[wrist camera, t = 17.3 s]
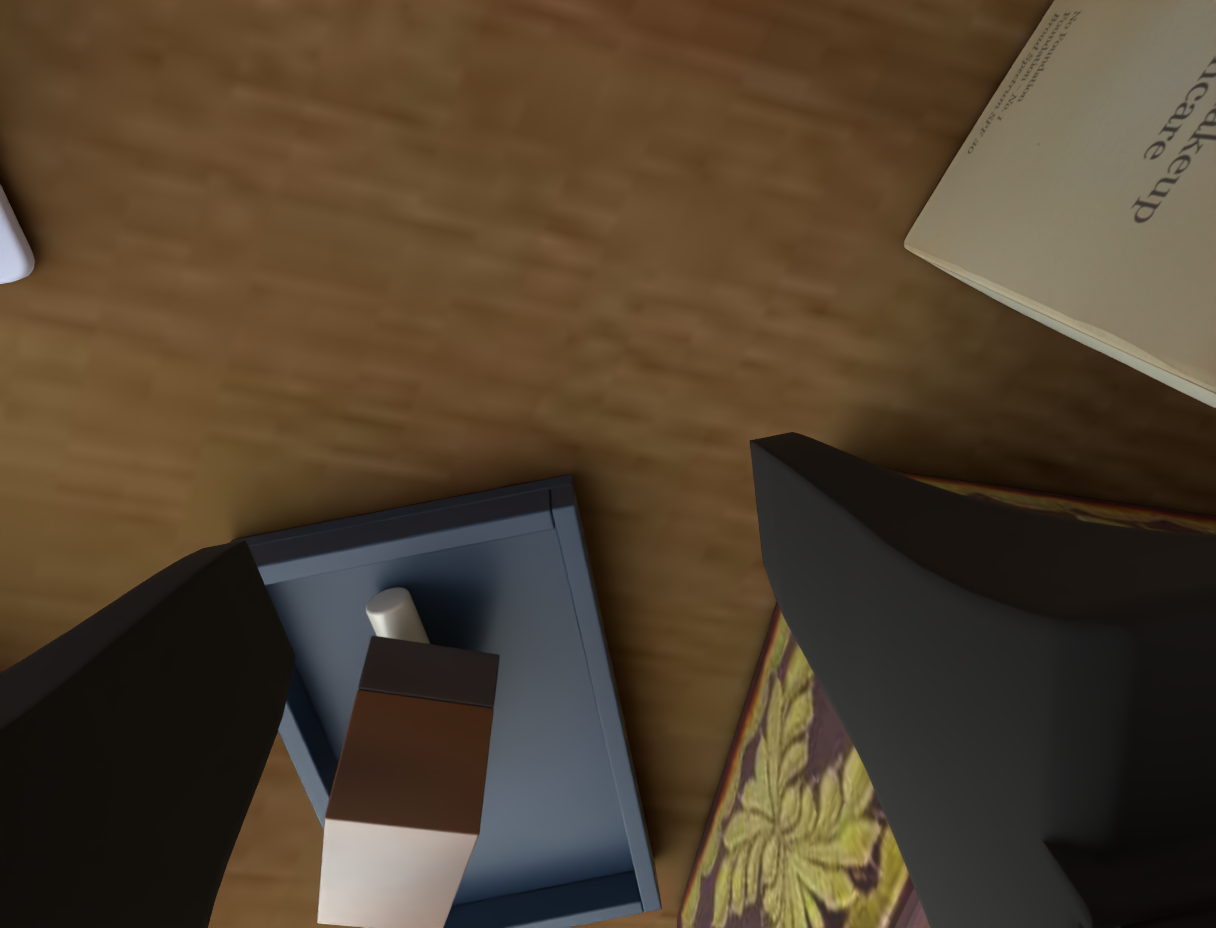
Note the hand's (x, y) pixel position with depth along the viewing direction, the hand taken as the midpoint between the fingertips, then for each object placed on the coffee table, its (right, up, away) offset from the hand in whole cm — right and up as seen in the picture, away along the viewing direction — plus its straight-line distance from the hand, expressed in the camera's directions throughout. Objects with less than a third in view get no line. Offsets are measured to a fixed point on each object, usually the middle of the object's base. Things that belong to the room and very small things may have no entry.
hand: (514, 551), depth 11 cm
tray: (-3, -7, +13) cm, 15 cm away
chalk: (-4, -3, +11) cm, 12 cm away
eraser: (-4, -6, +11) cm, 13 cm away
